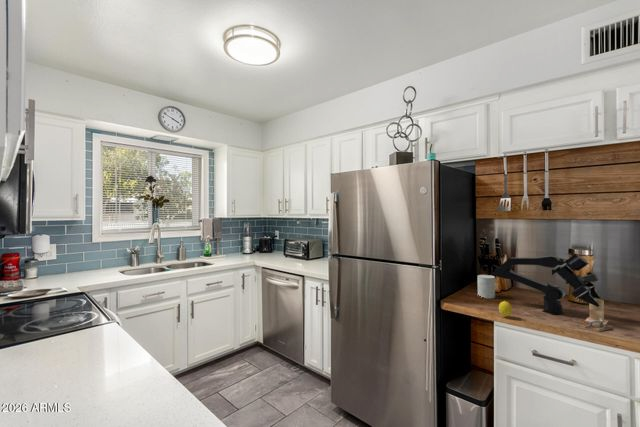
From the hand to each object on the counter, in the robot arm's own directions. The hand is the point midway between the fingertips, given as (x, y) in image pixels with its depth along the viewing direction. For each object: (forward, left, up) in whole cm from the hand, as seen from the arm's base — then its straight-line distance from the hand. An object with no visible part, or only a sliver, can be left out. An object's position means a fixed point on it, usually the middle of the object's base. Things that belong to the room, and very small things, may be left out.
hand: (600, 304), depth 139 cm
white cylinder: (-52, -9, -9) cm, 54 cm away
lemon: (-22, -33, -9) cm, 41 cm away
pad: (-1, 0, -8) cm, 9 cm away
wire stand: (+3, -9, -8) cm, 13 cm away
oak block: (-1, 0, -8) cm, 8 cm away
